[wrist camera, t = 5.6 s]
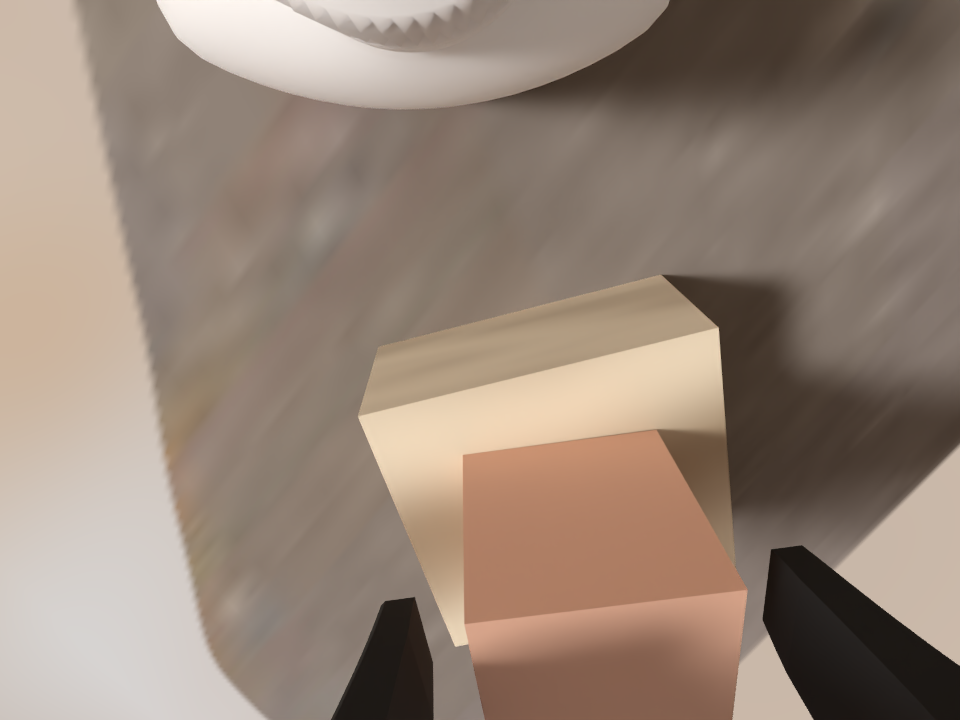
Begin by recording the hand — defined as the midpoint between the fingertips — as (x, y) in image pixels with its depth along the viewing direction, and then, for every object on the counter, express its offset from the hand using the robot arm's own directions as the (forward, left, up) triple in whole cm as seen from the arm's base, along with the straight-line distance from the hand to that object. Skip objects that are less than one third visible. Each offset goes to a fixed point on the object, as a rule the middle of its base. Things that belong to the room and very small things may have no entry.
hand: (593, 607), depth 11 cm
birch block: (0, 0, -7) cm, 7 cm away
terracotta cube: (0, 0, -3) cm, 3 cm away
